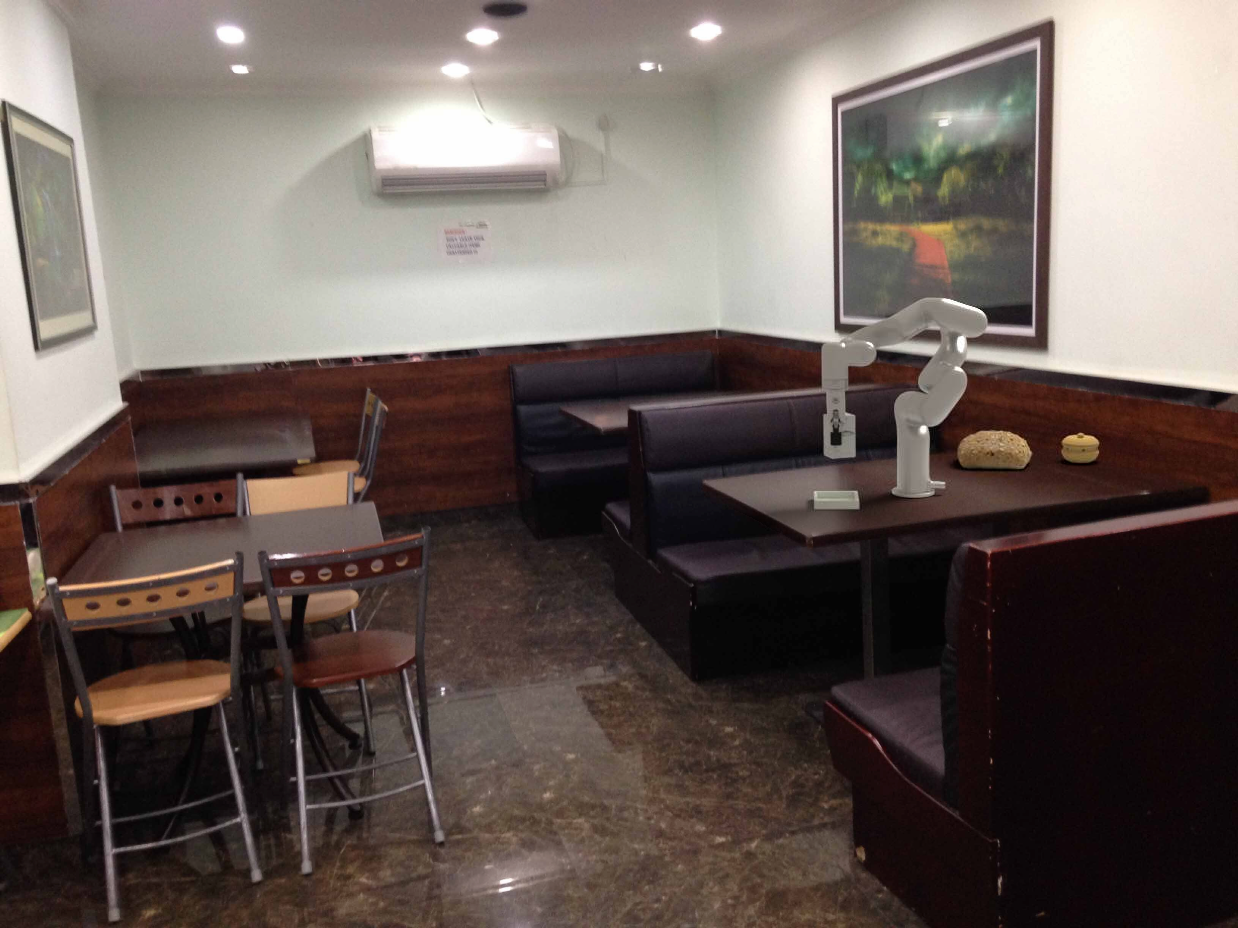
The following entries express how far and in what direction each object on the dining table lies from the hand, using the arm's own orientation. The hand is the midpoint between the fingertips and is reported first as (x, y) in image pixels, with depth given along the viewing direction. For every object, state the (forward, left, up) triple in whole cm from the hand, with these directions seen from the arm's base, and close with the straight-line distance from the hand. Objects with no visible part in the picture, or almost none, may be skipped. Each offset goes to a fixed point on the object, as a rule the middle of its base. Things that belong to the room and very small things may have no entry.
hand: (835, 442), depth 308 cm
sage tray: (0, 0, -19) cm, 19 cm away
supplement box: (-1, 0, -4) cm, 5 cm away
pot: (-82, -59, -19) cm, 103 cm away
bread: (-54, -56, -19) cm, 81 cm away
